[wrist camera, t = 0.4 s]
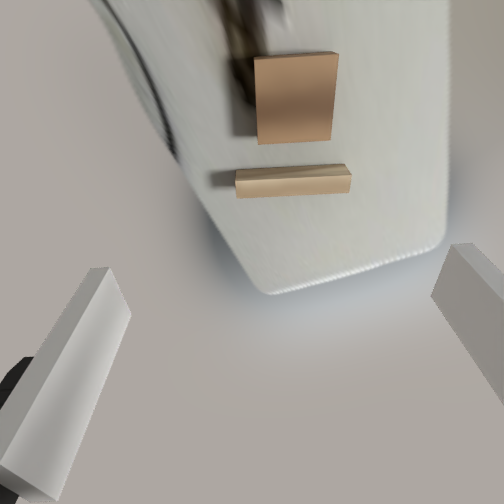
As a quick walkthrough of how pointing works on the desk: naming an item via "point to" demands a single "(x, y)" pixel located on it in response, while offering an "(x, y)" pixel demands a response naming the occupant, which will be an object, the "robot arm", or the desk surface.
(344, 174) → the rail
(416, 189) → the desk surface
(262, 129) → the slab
